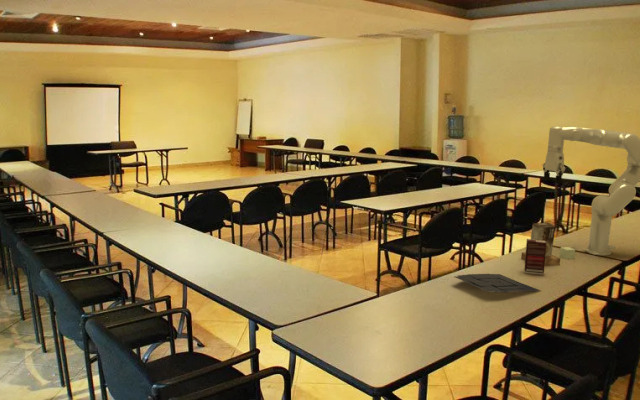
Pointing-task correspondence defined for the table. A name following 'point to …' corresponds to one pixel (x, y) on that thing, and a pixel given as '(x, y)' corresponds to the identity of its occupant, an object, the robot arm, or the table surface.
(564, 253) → the sage cube
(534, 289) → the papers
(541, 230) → the coffee box
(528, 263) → the supplement box
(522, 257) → the walnut block
